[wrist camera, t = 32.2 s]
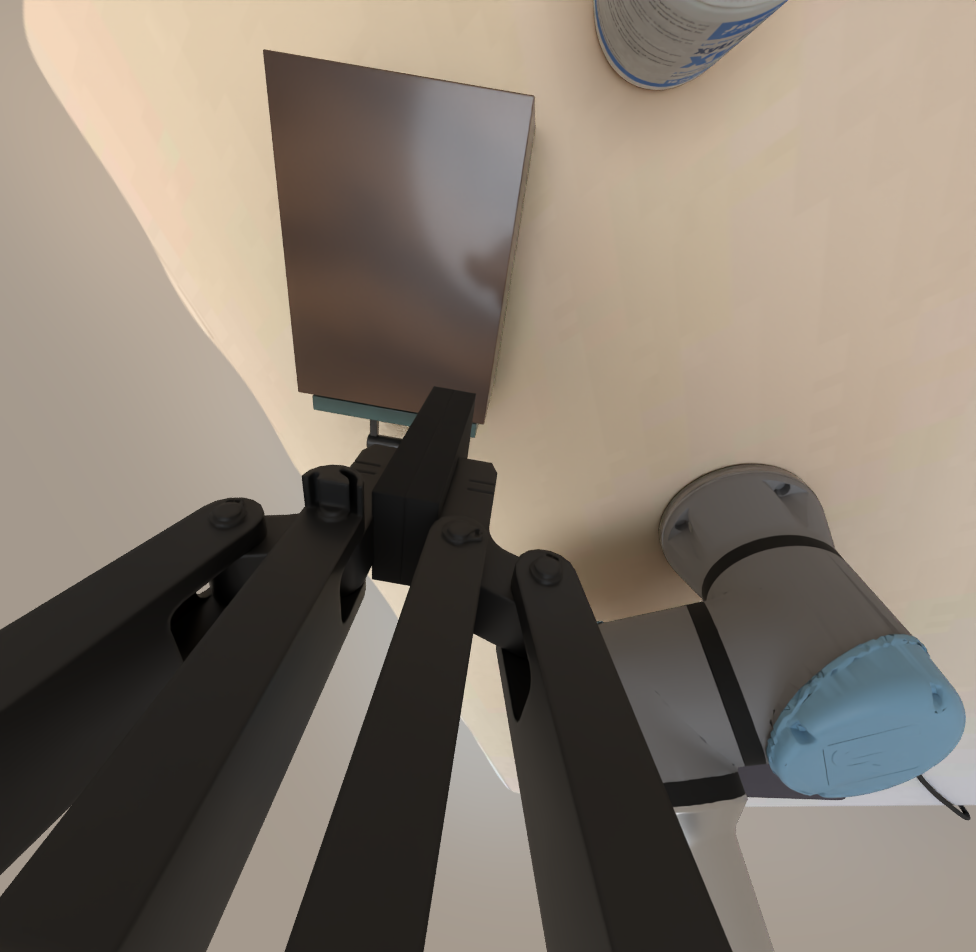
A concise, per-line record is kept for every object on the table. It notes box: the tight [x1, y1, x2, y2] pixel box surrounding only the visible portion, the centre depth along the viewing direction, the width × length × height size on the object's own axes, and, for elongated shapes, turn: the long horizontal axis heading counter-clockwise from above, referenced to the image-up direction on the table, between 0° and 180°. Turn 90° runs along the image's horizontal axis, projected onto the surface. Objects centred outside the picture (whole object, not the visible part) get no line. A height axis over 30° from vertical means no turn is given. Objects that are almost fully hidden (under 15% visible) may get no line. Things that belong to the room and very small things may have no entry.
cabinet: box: [263, 49, 536, 424], centre depth 31 cm, size 19×14×9 cm
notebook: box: [738, 764, 846, 800], centre depth 70 cm, size 13×2×21 cm
